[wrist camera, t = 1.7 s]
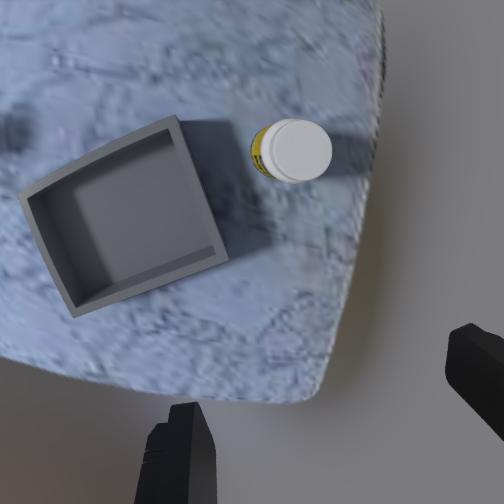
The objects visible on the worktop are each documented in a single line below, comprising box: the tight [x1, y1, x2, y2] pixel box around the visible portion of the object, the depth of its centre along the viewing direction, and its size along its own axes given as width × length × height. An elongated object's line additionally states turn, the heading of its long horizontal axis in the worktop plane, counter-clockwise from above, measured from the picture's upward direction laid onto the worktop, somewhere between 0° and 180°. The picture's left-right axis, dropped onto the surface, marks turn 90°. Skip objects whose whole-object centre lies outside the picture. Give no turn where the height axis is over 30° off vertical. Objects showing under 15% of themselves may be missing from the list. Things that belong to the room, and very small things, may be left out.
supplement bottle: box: [250, 118, 332, 183], centre depth 24 cm, size 5×5×8 cm
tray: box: [17, 115, 229, 318], centre depth 25 cm, size 12×15×4 cm
